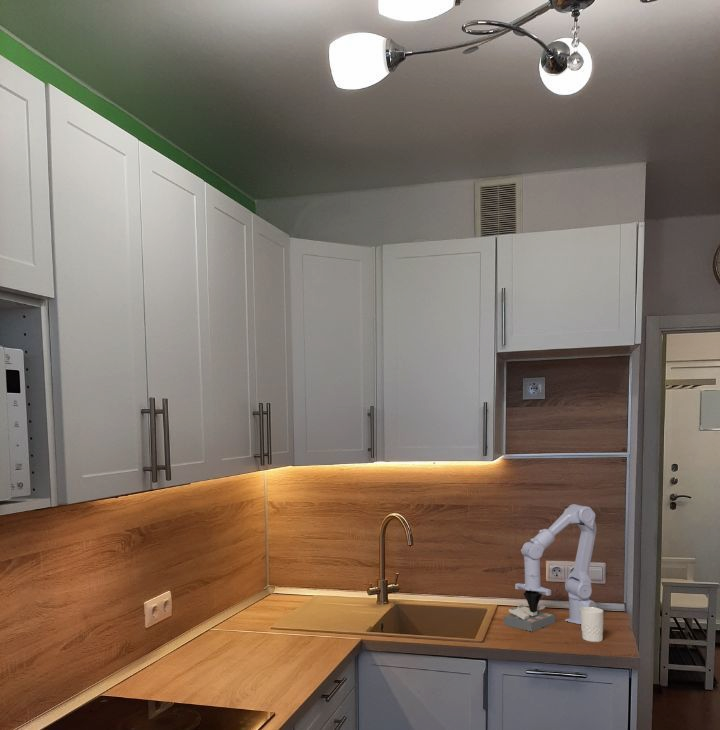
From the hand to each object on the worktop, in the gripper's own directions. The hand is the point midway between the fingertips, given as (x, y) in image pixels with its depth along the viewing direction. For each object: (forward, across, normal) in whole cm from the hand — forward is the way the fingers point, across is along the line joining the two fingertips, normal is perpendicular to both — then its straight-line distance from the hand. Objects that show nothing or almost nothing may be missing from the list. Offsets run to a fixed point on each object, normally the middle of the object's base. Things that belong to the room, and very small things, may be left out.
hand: (533, 611), depth 246 cm
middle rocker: (0, -3, 0) cm, 3 cm away
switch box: (+5, -2, 0) cm, 5 cm away
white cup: (+5, +23, +1) cm, 24 cm away
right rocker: (0, -3, +6) cm, 6 cm away
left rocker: (0, -3, -6) cm, 6 cm away
